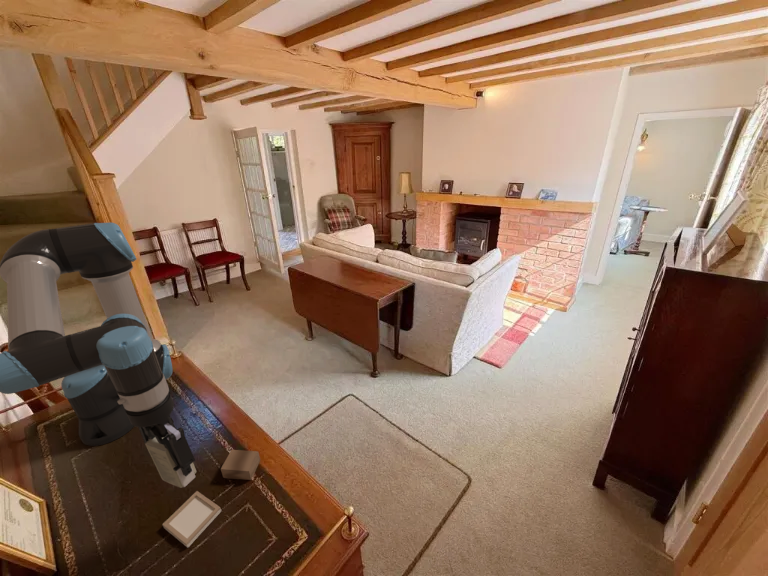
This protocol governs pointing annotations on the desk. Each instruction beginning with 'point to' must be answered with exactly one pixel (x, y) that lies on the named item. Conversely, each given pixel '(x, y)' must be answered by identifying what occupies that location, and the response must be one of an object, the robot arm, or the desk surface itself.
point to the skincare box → (164, 462)
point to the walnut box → (240, 464)
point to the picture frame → (192, 518)
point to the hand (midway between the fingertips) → (178, 474)
